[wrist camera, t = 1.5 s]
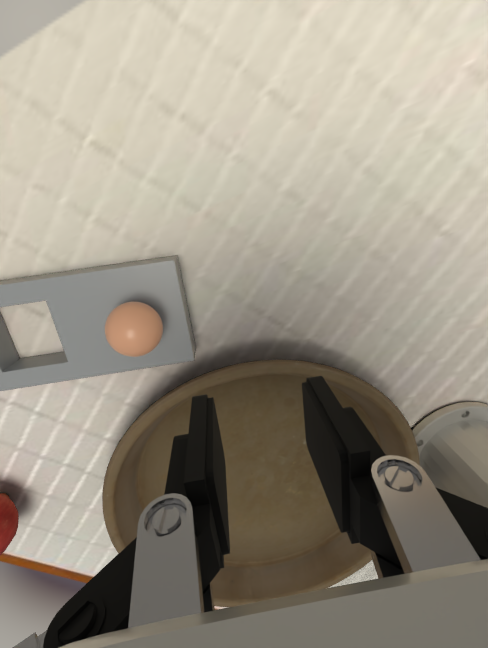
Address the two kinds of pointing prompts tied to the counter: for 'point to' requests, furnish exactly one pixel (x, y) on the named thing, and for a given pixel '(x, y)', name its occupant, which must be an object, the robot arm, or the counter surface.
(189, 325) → the block
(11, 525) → the onion
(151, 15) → the counter surface
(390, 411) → the plant saucer
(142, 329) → the ball
